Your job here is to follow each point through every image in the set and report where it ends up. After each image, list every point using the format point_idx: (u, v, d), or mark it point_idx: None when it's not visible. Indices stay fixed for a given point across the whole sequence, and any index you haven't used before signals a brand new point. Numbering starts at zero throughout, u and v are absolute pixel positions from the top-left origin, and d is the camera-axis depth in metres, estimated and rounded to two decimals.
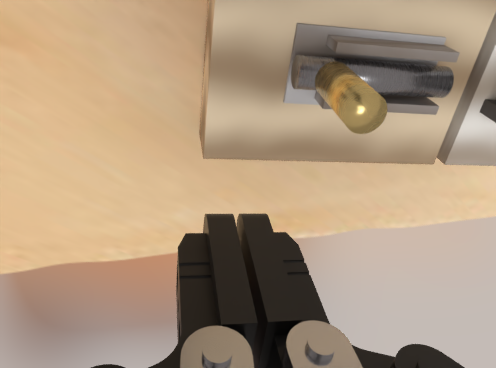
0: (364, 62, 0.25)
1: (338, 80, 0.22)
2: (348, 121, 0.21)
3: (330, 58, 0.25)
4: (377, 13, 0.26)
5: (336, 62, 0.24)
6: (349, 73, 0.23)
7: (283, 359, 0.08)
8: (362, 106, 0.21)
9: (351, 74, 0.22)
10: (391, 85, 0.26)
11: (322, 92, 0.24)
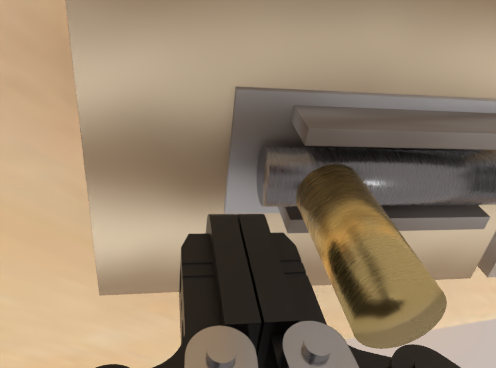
0: (386, 157, 0.14)
1: (339, 222, 0.11)
2: (360, 333, 0.10)
3: (324, 152, 0.14)
4: (383, 65, 0.14)
5: (335, 167, 0.13)
6: (361, 204, 0.11)
7: (279, 360, 0.08)
8: (392, 306, 0.09)
9: (365, 208, 0.11)
10: (434, 195, 0.14)
11: (308, 229, 0.12)
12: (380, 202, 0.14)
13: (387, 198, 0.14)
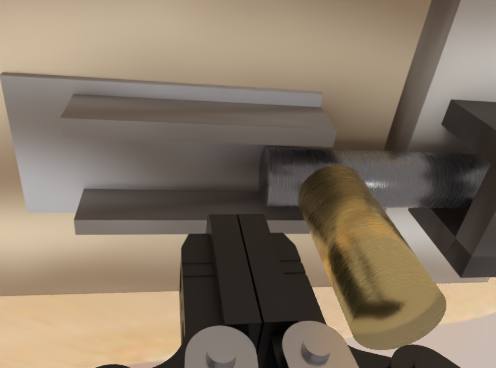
0: (388, 159, 0.14)
1: (340, 223, 0.11)
2: (359, 334, 0.10)
3: (327, 153, 0.14)
4: (173, 51, 0.13)
5: (337, 168, 0.13)
6: (362, 205, 0.11)
7: (279, 360, 0.08)
8: (392, 307, 0.09)
9: (366, 209, 0.11)
10: (436, 197, 0.14)
11: (309, 230, 0.12)
12: (382, 204, 0.14)
13: (389, 200, 0.14)
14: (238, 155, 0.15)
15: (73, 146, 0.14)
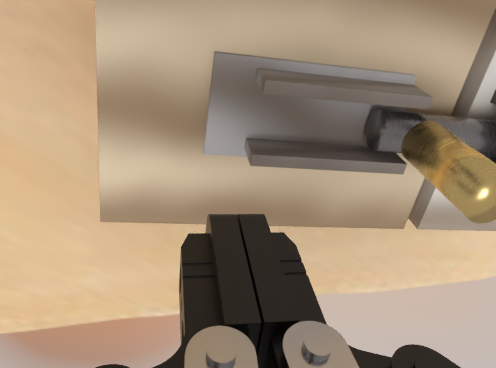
0: (459, 121, 0.21)
1: (446, 150, 0.17)
2: (468, 209, 0.16)
3: (419, 115, 0.20)
4: (325, 41, 0.19)
5: (432, 122, 0.19)
6: (458, 140, 0.18)
7: (279, 359, 0.08)
8: (490, 190, 0.16)
9: (461, 142, 0.18)
10: (490, 149, 0.21)
11: (417, 160, 0.19)
12: None
13: None
14: (353, 117, 0.21)
15: (248, 105, 0.20)
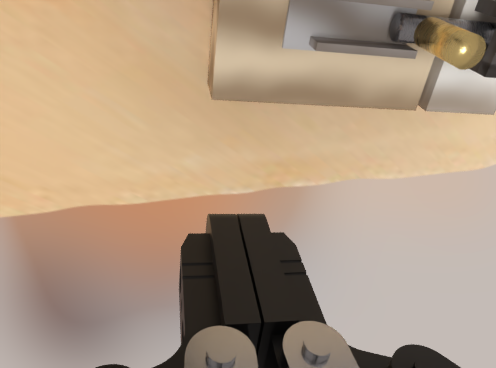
0: (452, 19, 0.31)
1: (442, 29, 0.28)
2: (454, 58, 0.27)
3: (425, 15, 0.31)
4: None
5: (433, 17, 0.30)
6: (449, 23, 0.28)
7: (279, 359, 0.08)
8: (467, 45, 0.26)
9: (451, 24, 0.28)
10: None
11: (424, 41, 0.29)
12: None
13: None
14: (381, 21, 0.32)
15: (312, 12, 0.31)
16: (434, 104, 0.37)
